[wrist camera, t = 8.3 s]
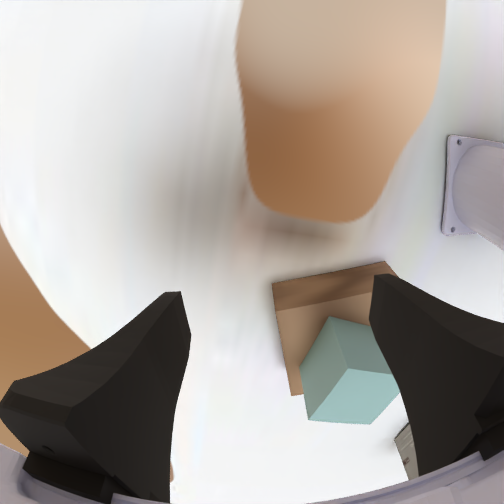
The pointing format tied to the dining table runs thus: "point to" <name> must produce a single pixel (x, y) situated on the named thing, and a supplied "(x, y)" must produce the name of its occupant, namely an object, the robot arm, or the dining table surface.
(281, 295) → the walnut block
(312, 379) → the teal block
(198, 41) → the dining table surface
